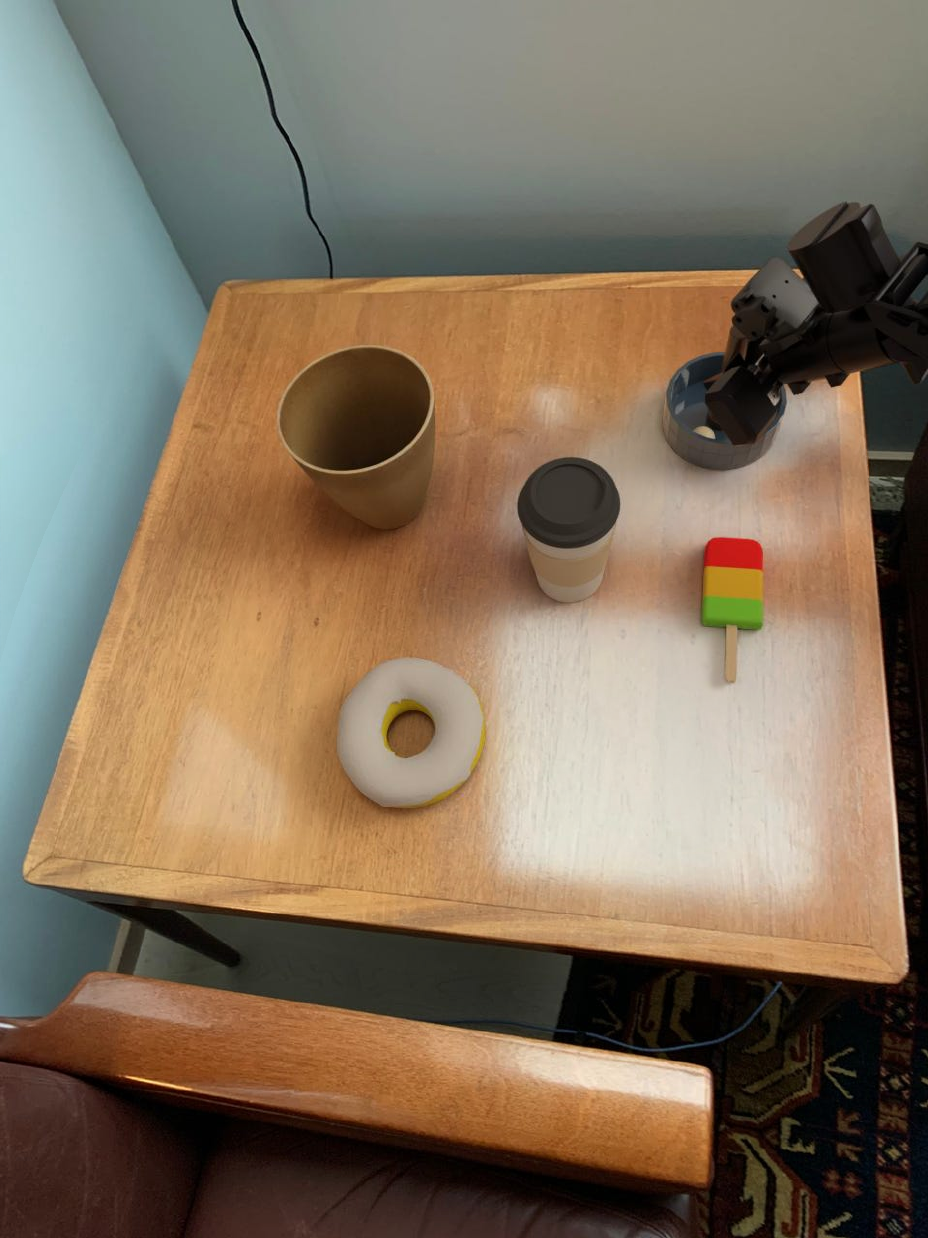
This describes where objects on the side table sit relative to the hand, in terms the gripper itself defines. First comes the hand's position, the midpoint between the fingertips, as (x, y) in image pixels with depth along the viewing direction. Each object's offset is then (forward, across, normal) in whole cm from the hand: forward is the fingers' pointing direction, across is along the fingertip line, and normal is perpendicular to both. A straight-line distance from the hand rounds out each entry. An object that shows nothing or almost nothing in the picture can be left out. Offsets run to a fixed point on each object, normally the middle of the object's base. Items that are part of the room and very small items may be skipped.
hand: (717, 372), depth 87 cm
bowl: (+4, 0, +6) cm, 7 cm away
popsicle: (-5, +19, +15) cm, 25 cm away
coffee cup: (+6, +24, +5) cm, 25 cm away
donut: (+7, +47, +4) cm, 48 cm away
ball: (+2, +4, +5) cm, 7 cm away
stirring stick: (+4, 0, +6) cm, 7 cm away
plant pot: (+21, +28, -10) cm, 37 cm away
